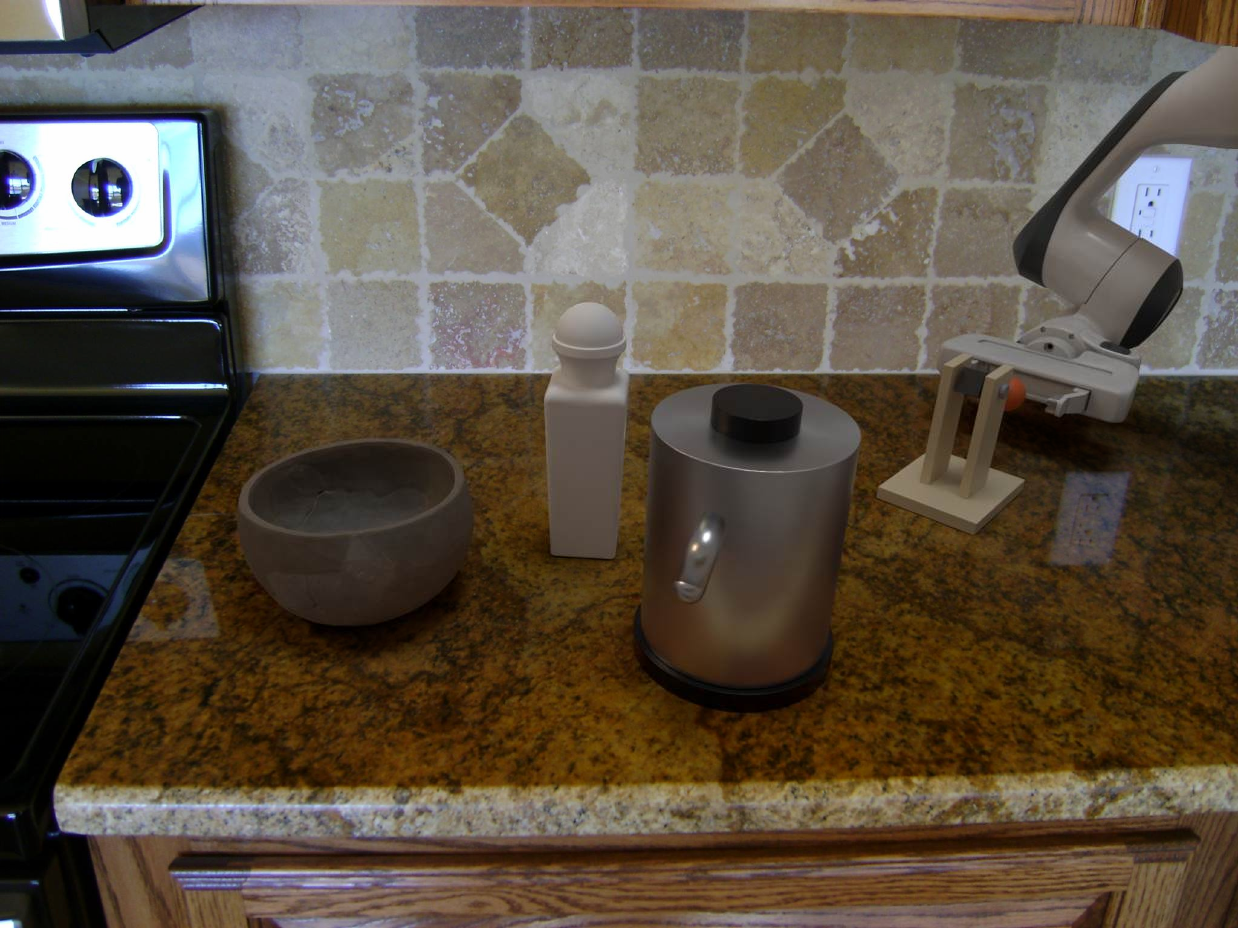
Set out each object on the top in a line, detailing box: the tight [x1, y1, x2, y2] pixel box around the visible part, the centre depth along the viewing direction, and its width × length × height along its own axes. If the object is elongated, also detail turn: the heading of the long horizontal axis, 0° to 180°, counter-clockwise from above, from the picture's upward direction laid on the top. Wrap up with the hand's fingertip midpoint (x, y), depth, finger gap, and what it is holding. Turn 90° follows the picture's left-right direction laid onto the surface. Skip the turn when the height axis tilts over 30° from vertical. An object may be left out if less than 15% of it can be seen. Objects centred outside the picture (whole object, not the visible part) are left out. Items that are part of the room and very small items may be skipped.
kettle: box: [632, 382, 862, 713], centre depth 66 cm, size 22×15×20 cm
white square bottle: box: [543, 301, 631, 560], centre depth 78 cm, size 6×6×22 cm
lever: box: [955, 367, 1026, 412], centre depth 92 cm, size 14×4×4 cm, turn 139°
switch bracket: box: [875, 353, 1026, 536], centre depth 90 cm, size 12×10×14 cm
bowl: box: [236, 437, 475, 627], centre depth 74 cm, size 17×18×10 cm
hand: (1006, 395), depth 96 cm, fingers open, 8 cm apart
